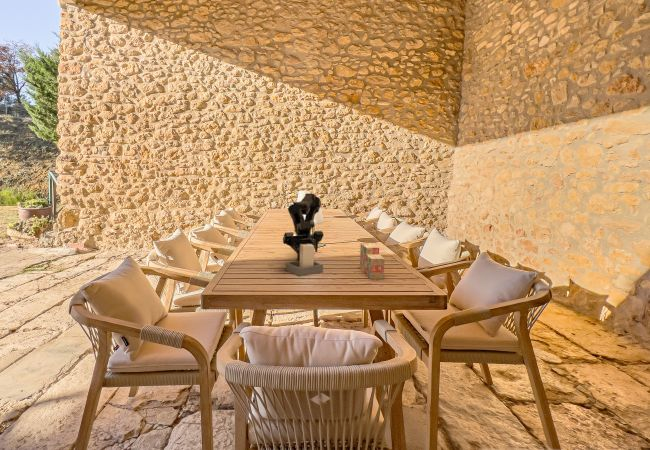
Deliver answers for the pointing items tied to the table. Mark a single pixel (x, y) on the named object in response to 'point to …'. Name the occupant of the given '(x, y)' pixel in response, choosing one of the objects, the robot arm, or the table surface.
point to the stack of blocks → (371, 261)
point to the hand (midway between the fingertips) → (307, 252)
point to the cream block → (306, 255)
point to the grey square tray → (295, 268)
